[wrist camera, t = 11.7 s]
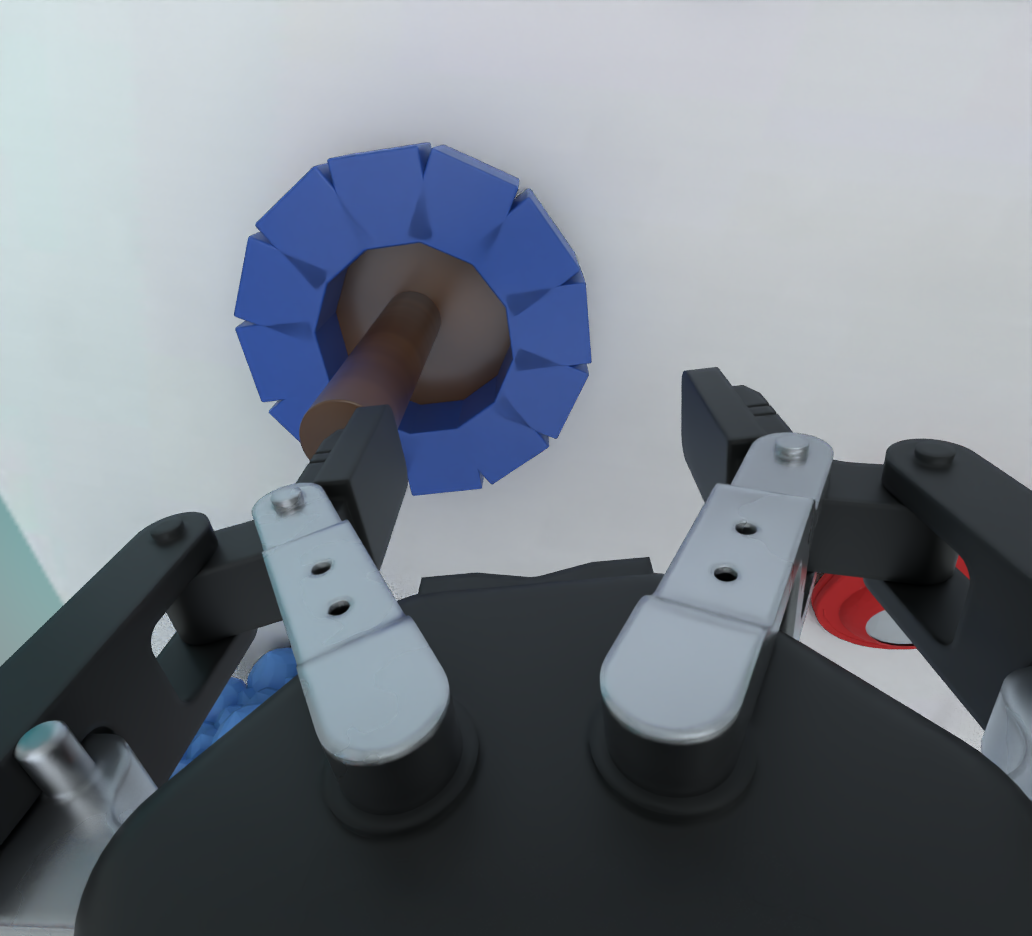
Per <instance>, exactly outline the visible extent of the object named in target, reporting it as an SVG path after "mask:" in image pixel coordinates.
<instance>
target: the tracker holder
mask: <svg viewBox="0 0 1032 936" xmlns="http://www.w3.org/2000/svg"><path fill="white" fill-rule="evenodd" d="M956 567H957V568H958V569H959V570H960V571H961V572H962V573H963V574H964V575H965V576H966V577H967V578H968V579H969V580H970V578H969V572H968V569H967V567H966V564H965V563H964V561H963V559H962V558H961V557H960V556H958V559H957V563H956ZM811 603H812V607H813V610H814V612H815V615H816V617H817V619H818V621H819V623H820V624H821V625H822V626H823V628H824V629H826V630H827V631H828V632H829V633H831V634H833V635H834V636H836V637H838V638H840V639H843V640H845V641H848V642H851V643H854V644H857V645H862V646H867V647H872V648H882V649H917V648H916V647H915V646H914V645H913V643H912V642H911V641H910V640H909V638H908V637H907V636H906V635H905V634H904V632H903V631H902V630H901V629H900V628H899V626H898V625H897V624H896V623H895V621H894V620H893V619H892V618H891V617H890V615H889V614H888V613H887V612H886V611H885V609H884V608H883V607H882V606H881V604H880V603H879V602H878V601H877V600H876V598H875V597H874V596H873V595H872V594H871V592H870V591H869V590H868V589H867V587H866V586H865V584H864V581H863V578H859V577H851V576H843V575H835V574H826V573H825V574H824V575H823V576H822V577H821V578H820V579H819V581H818V582H817V584H816V585H815V587H814V589H813V591H812V595H811Z"/></svg>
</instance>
